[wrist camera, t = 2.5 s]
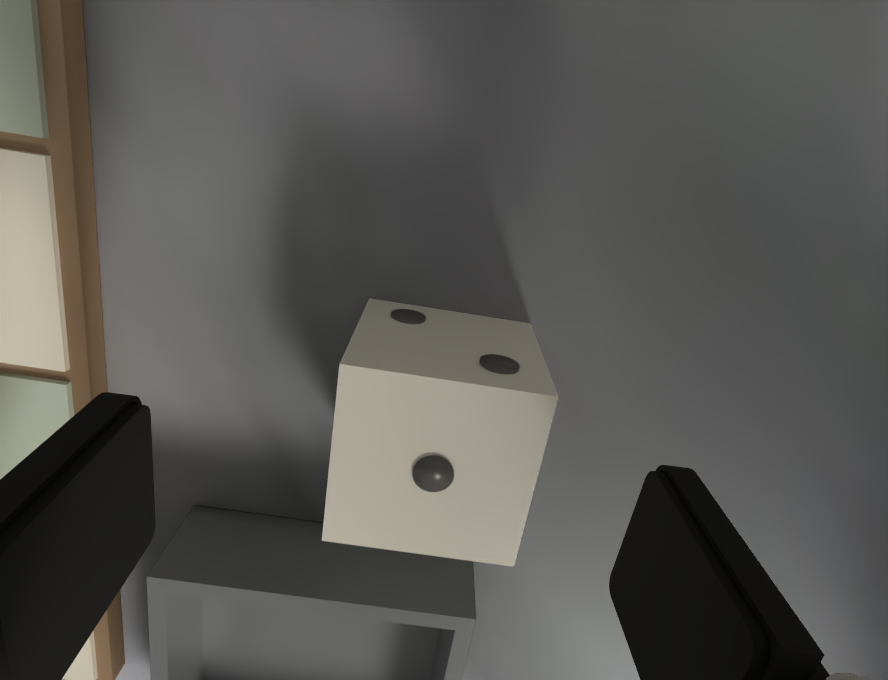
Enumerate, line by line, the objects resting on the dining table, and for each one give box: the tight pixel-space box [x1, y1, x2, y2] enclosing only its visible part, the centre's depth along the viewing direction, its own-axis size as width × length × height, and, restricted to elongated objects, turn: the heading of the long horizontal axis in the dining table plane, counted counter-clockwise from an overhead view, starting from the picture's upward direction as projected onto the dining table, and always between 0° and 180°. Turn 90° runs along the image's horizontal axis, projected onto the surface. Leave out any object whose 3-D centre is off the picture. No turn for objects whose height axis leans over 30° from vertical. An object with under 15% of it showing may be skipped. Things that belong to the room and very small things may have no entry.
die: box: [322, 298, 559, 567], centre depth 14 cm, size 5×5×5 cm
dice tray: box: [147, 506, 476, 680], centre depth 18 cm, size 9×9×3 cm
